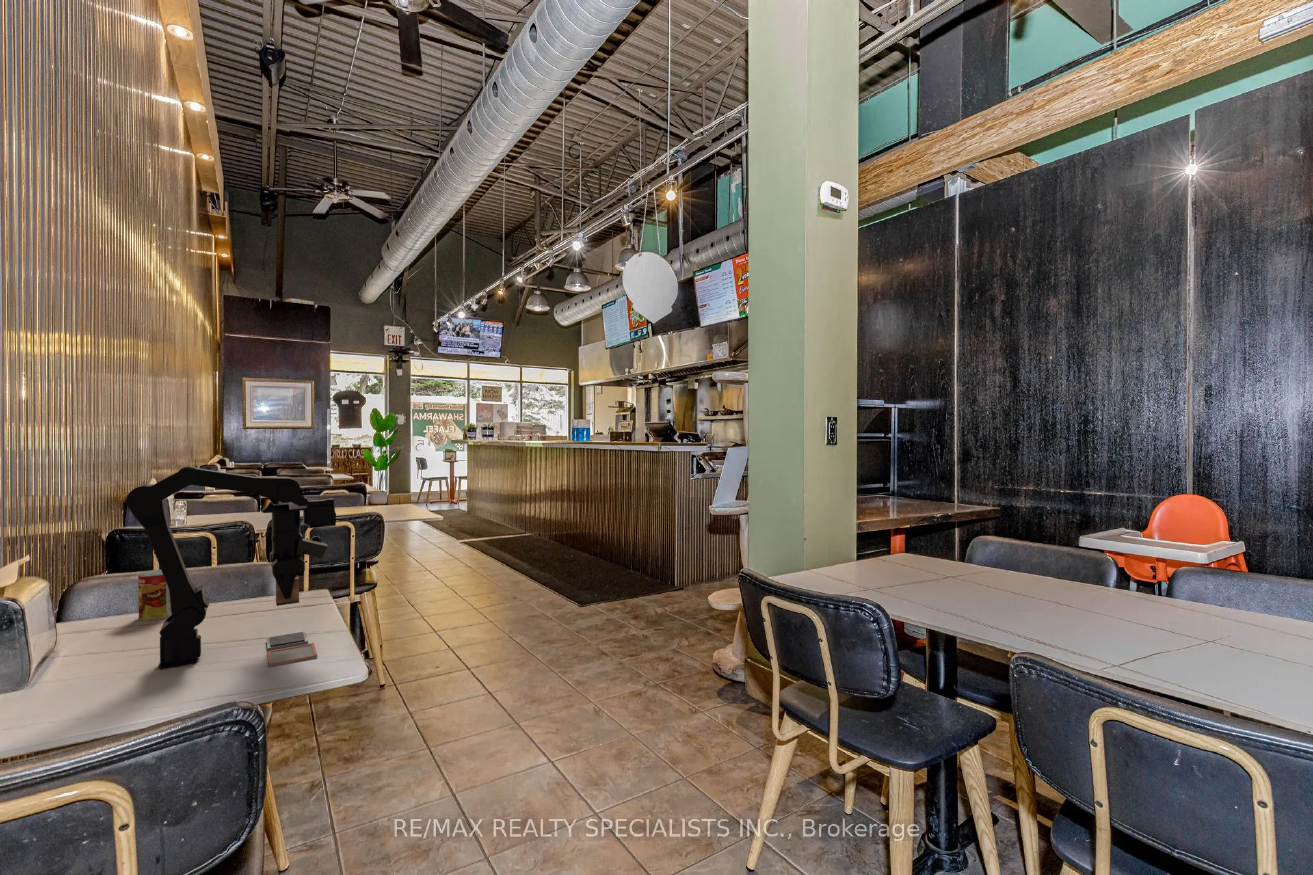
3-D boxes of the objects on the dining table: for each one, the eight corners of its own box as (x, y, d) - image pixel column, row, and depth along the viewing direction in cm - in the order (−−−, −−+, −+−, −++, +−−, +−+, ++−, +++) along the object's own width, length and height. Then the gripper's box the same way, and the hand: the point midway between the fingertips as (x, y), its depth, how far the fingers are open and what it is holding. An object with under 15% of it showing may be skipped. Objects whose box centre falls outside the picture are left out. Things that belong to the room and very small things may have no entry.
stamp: (276, 605, 138) (276, 580, 138) (275, 601, 142) (275, 576, 142) (299, 602, 141) (298, 577, 141) (297, 598, 145) (297, 573, 145)
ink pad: (267, 651, 136) (267, 646, 136) (266, 641, 143) (266, 636, 143) (308, 644, 140) (308, 639, 140) (305, 634, 147) (305, 630, 147)
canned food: (144, 614, 165) (144, 570, 165) (180, 610, 168) (179, 567, 168) (134, 622, 158) (133, 576, 158) (171, 618, 161) (170, 573, 161)
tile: (268, 666, 127) (268, 663, 127) (267, 653, 135) (267, 651, 135) (317, 657, 132) (317, 654, 132) (313, 645, 140) (313, 642, 140)
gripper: (329, 532, 138) (330, 599, 138) (321, 522, 154) (322, 583, 154) (272, 537, 132) (273, 608, 132) (269, 526, 147) (270, 589, 147)
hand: (287, 596), depth 141 cm, fingers closed on stamp, 4 cm apart
